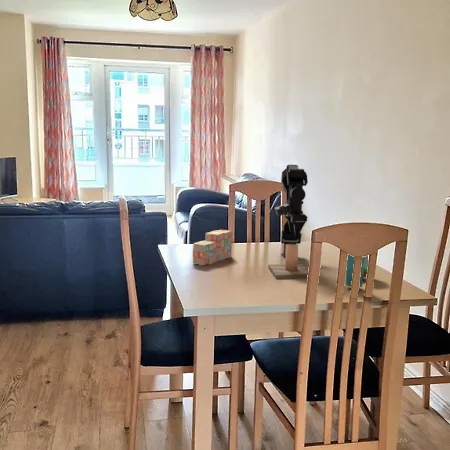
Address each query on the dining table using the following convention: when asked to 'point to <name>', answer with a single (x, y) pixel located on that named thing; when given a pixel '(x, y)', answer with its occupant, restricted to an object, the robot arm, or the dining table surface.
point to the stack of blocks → (213, 247)
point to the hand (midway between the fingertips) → (293, 234)
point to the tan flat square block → (281, 273)
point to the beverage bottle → (350, 271)
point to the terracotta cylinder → (291, 257)
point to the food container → (365, 267)
